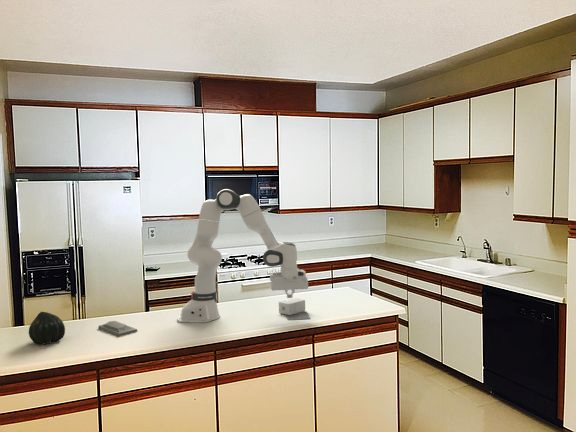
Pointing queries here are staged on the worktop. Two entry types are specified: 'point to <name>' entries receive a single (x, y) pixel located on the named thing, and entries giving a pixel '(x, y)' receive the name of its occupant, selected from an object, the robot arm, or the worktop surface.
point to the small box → (291, 306)
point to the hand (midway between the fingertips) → (289, 297)
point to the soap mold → (117, 328)
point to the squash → (46, 328)
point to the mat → (298, 316)
